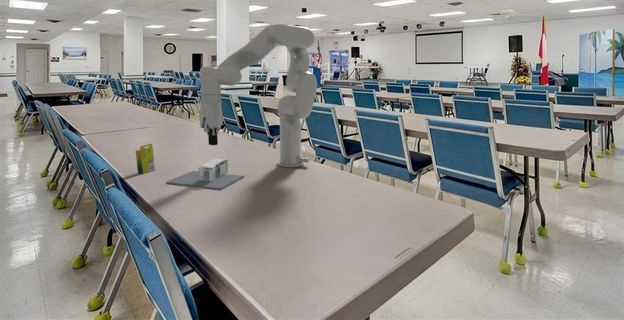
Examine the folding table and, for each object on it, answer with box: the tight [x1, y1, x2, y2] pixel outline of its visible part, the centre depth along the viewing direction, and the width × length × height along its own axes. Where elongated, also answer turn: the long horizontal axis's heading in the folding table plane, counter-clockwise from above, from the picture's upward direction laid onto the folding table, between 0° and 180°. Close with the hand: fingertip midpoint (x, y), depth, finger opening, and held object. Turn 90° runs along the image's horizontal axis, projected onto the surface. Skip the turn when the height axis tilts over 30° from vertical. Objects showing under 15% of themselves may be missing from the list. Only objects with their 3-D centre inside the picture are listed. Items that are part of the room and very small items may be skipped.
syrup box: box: [198, 158, 229, 181], centre depth 161 cm, size 6×6×14 cm
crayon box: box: [135, 143, 156, 175], centre depth 169 cm, size 7×3×12 cm, turn 160°
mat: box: [165, 170, 245, 191], centre depth 158 cm, size 24×18×1 cm
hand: (213, 144), depth 161 cm, fingers closed
